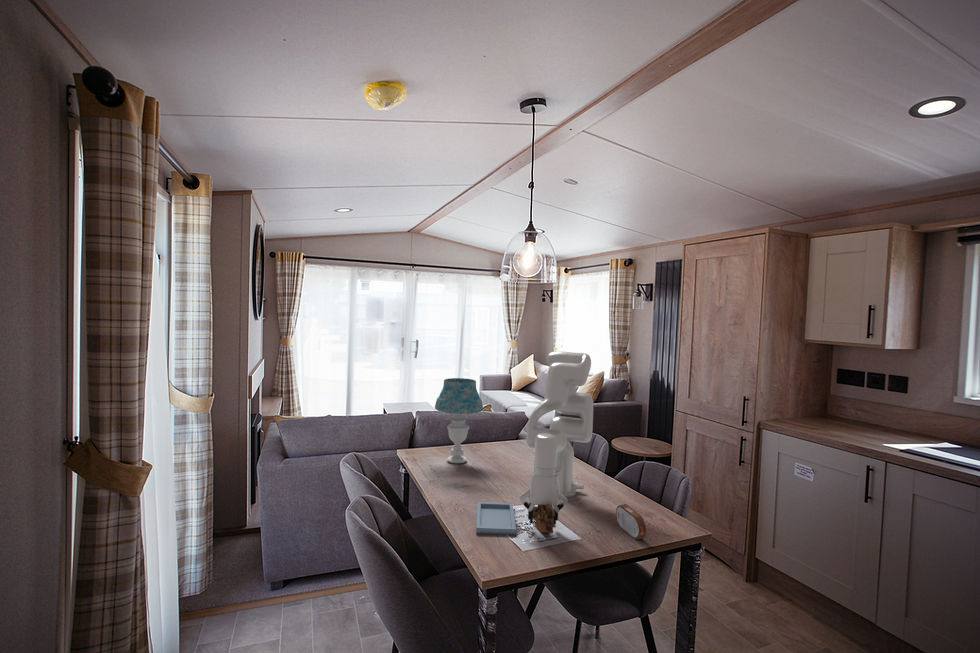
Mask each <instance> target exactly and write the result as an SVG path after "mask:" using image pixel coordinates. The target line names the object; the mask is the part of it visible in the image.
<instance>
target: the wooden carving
mask: <svg viewBox="0 0 980 653" xmlns="http://www.w3.org/2000/svg"><path fill="white" fill-rule="evenodd" d="M532 510H533V521H535V522H534V523H535V525H536V526H535V527H537V530H538V531H539V532H540V533H547V534H553V533H554V529H555V528H556V525H557V524H555V523H554V516H555V510H554V507H553V505H547V504H546V505H535V506H534V507H533V509H532ZM553 528H554V529H553Z"/></svg>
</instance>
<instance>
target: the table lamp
mask: <svg viewBox="0 0 980 653" xmlns="http://www.w3.org/2000/svg"><path fill="white" fill-rule="evenodd" d="M434 409H435V411H437V412H441V413H445V414H454V417H452V418H450V421H451V423H449V424H448V425H447V426H446V429H447V430H448V432H447V433H448V437H449V439H450V440H451V441H452V442H453V444H454V445H453V446H452V448H451V449H450V455H449V456H448V457H447V458H446V461H447V462H448V463H452V464H463V463H465V462H467V460H468V459H467V457H466V456H464V450H465V449H463V447H462V445H461V444H462V442H464V441H465V440H466V439H467V436H468V431H469V430H470V425H469V424H466V421H467V419H466V418H464V417H463V415H469V414H470V415H471V414H477V413H481V412H483V411H484V406H483V400H482V399H481V397H480V394H479V392H478V389H477V381H476V379H471V378H462V377H453V378H452V377H451V378H445V379H444V380H443V385H442V390H441V391H440V393H439V396H438V397H437V398H436V400H435V403H434Z"/></svg>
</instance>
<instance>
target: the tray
mask: <svg viewBox="0 0 980 653" xmlns="http://www.w3.org/2000/svg"><path fill="white" fill-rule="evenodd" d="M476 508H477V509H476V510H477V511H476V528H475V529H476V530H475V531H476V532H475V534H476V535H503V536H506V535H507V536H508V535H509V536H516V535H517V525H516V519H515V511H514V504H513V503H510V502H509V503H508V502H507V503H506V502H504V503H503V502H485V501H484V502H483V501H482V502H481V501H478V502H477V506H476Z"/></svg>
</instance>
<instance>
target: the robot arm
mask: <svg viewBox="0 0 980 653" xmlns="http://www.w3.org/2000/svg"><path fill="white" fill-rule="evenodd" d="M547 364H548V370H547V377H546V383H545V384H546V385H545V392H544V398H543V400H542V401H541V402H540V403H539V404H538V405H537V406H536V407H534V410H533V411H532V412H531V414H530V416H529V419H528V423H527V429H526V438H525V439H526V440H525V441H526V444H527V446H528V447H529V448H531V449H534V461H533V462H534V463H533V464H534V465H533V471H532V472H531V473H530V479H529V483H528V484H529V485H528V491H526V492H525V493H523V494H522V495H521V496H520V497H519V500H520V502H521V503H522V504H523V506H524V508H526V509H527V511H528V512H527V519H528V520H529V523H530V524H532V523H533V522H534V520H533V510H532V509H533V507H534V506H538V505H546V504H547V505H552V507H553V510H555V516H554V523H555V525H557V521H559V513H560V511H561V510H562V509H563V508H564V506H565V505H567V503H568V498H569V497H571V498H572V497H573V496H575V495H576V494H577V490H584V489H585V485H584V484H580V482H574V478H573V477H574V460H575V450H574V448H573V445H572V444H571V442H575V443H576V442H577V443H589V442H590V441H591V440H592V436H593V431H594V430H593V429H594V428H593V427H594V426H593V425H594V424H593V423H594V399H593V396H592V395H591V394H589V393H586V392H577V391H576V387H583V386H585V385H586V382H587V381H588V377H589V374H590V371H591V368H592V359H591V356H590V355H589V354H588V353H584V352H571V351H552V352H550V353H548V355H547ZM553 411H555V412H556V413H558V414H561V415H568V416H554V417H553V418H552V419H551V420H550V423H549V424H550V425H549V428H546V427H537V425H538V422H539V420H540V419H541V418H542V417H543V416H544V415H546V414H547V413H551V412H553ZM572 416H578V417H580V418H578V417H572ZM526 499H529V503H528V501H526ZM560 500H561V502H559V501H560Z"/></svg>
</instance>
